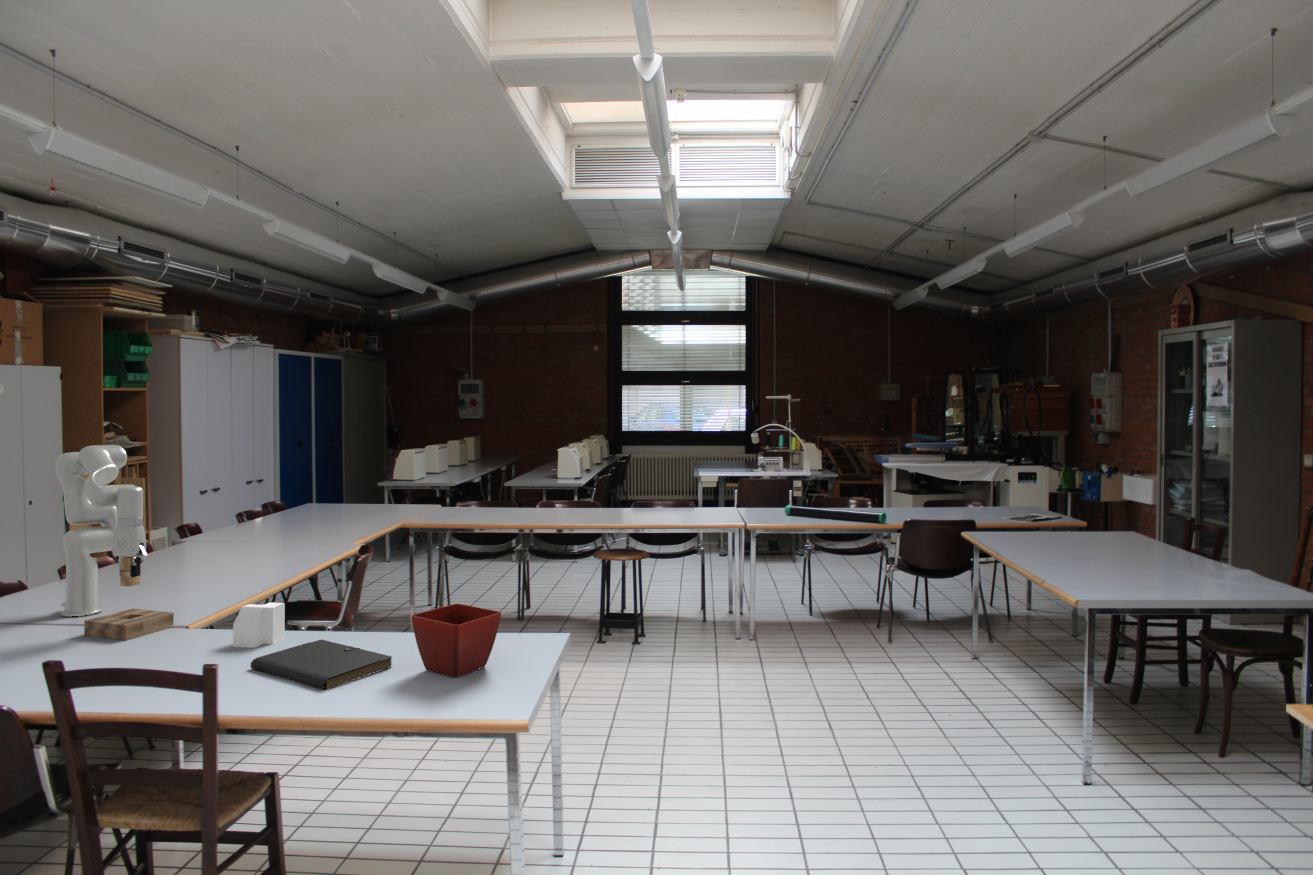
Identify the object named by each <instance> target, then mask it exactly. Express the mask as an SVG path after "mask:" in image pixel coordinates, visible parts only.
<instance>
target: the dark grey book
mask: <svg viewBox="0 0 1313 875" xmlns="http://www.w3.org/2000/svg"><path fill="white" fill-rule="evenodd" d="M392 658H393V656H392V655H387V654H382V653H378V652H375V651H370V650H366V649H362V648H360V647H354V646H353V645H352V646H349V645H346V644H341V643H337V642H333V641H329V640H325V639H318V640H314V641H310V642H306V643H303V644H299V645H296V646H292V647H288V648H285V649H282V650H279V651H275V652H272V653H269V654H265V655H262V656H258V657H255V658H253V660H251V662H250V669H252V670H255V671H257V672H262V673H265V672H266V674H268V673H269V675H272V674H273V675H272V676H275V675H276V676H275V677H278V676H279V678H282V679H286V680H289V681H293V682H297V683H300V684H302V685H307V686H310V687H313V688H316V689H320V690H324V691H326V690H328V688H329V689H332V688H334V687H337V686H340V685H343V684H342V683H344V684H346V683H345V682H347V683H349V682H348V681H350V682H352V681H351V680H353V679H356V680H358V679H357V678H359V677H362V678H364V677H363V676H364V675H367V674H370V673H373V672H376V671H379V670H382V669H385V668H388V667H390V666H391V667H392V664H393V663H392ZM388 669H389V668H388ZM385 670H386V669H385ZM382 671H383V670H382ZM379 672H380V671H379ZM376 673H377V672H376ZM373 674H374V673H373ZM359 679H360V678H359ZM353 681H354V680H353ZM339 684H340V685H339Z"/></svg>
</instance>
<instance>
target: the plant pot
mask: <svg viewBox="0 0 1313 875" xmlns="http://www.w3.org/2000/svg"><path fill="white" fill-rule="evenodd" d="M501 617H502V611H497V610H493V609H488V608H482V607H477V606H472V605H467V604H462V603H452V604H449V605H445V606H441V607H438V608H437V607H436V608H434V609H430V610H426V611H422V612H419V613H414V614H412V615H411V622H412V628H413V633H414V638H415V642H416V646H417V649H418V652H419V655H420V658H421V661H422V663H423V666H424V668H425V670H426V671H428V672H430V673H431V672H432V673H434V672H435V674H438V673H439V674H438V675H442V674H443V675H444V676H445V675H446V677H449V676H450V677H449V678H453V677H454V678H453V679H456V678H455V677H457V678H460V677H463V676H465V675H464V674H466V673H468V674H470V673H469V672H471V673H473V672H472V671H474V670H476V671H478V670H477V669H479V668H481V667H484V666H485V665H487V663H488V661H489V658H490V657H491V656H490V655H491V653H492V650H493V648H494V645H495V641H496V637H497V635H498V634H497V633H498V631H499V626H500V622H501ZM485 667H486V666H485ZM485 667H484V668H485ZM479 670H480V669H479ZM474 672H475V671H474ZM462 675H463V676H462ZM466 675H467V674H466ZM459 676H460V677H459Z"/></svg>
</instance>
